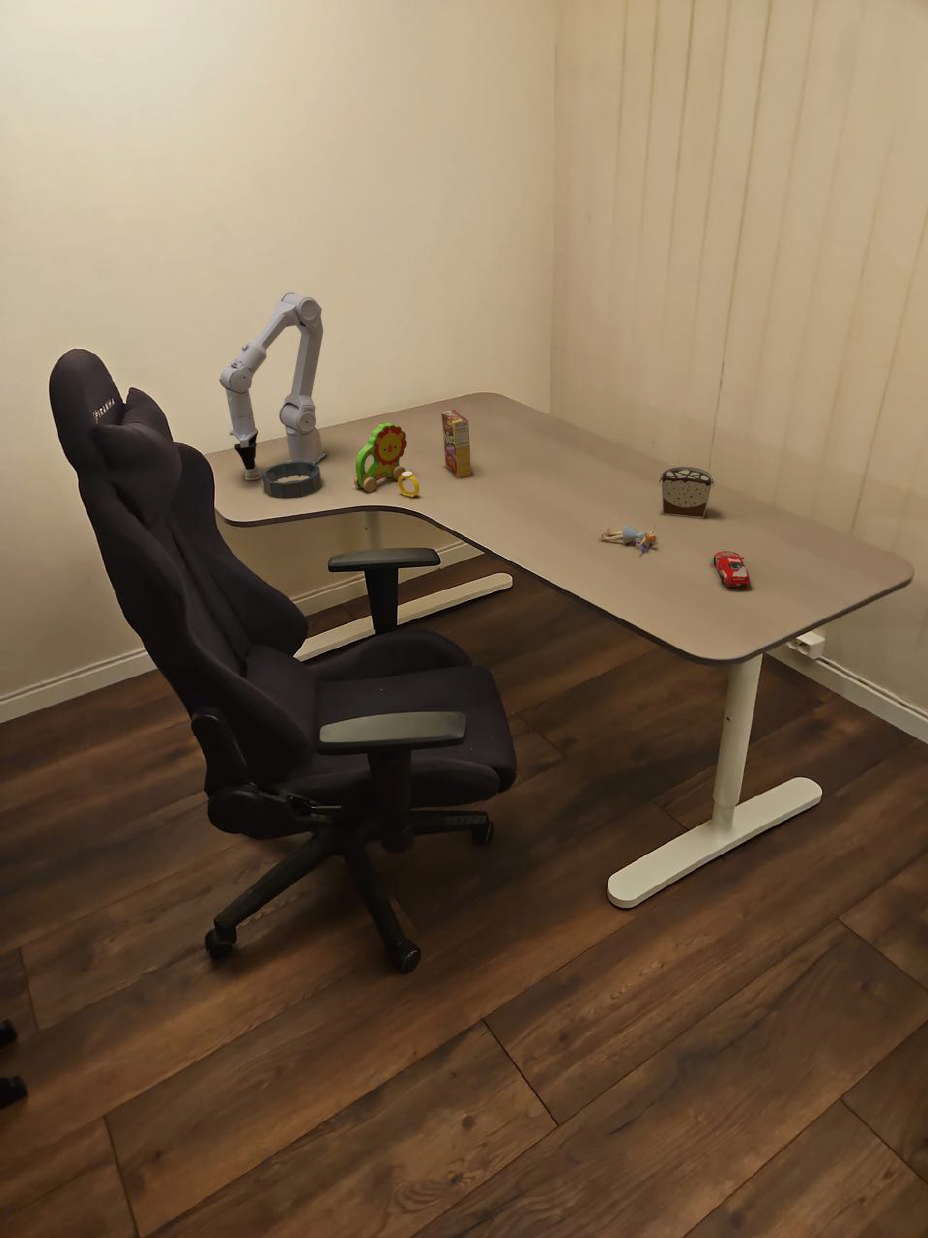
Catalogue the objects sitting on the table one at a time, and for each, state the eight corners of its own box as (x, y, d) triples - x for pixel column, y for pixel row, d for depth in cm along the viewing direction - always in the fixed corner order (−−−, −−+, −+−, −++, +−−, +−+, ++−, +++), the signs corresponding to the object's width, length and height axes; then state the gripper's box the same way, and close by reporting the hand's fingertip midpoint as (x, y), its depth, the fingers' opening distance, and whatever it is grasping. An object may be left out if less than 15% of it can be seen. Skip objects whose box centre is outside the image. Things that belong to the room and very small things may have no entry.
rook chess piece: (257, 481, 235) (252, 453, 230) (242, 480, 235) (236, 452, 231) (264, 475, 238) (259, 446, 234) (248, 474, 239) (243, 446, 235)
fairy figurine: (614, 513, 201) (665, 518, 195) (615, 532, 204) (665, 537, 197) (593, 533, 193) (645, 539, 187) (594, 553, 195) (645, 559, 189)
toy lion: (367, 494, 225) (360, 437, 216) (353, 488, 228) (347, 432, 220) (413, 475, 234) (409, 420, 226) (400, 470, 237) (395, 415, 229)
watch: (422, 496, 222) (420, 474, 219) (415, 500, 220) (413, 478, 217) (404, 491, 225) (402, 469, 222) (396, 495, 224) (394, 473, 220)
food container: (713, 508, 210) (717, 468, 204) (710, 519, 205) (715, 478, 199) (660, 502, 213) (663, 463, 208) (656, 513, 208) (659, 473, 203)
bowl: (283, 472, 239) (281, 458, 237) (331, 478, 234) (329, 464, 232) (254, 494, 228) (251, 479, 226) (303, 500, 223) (301, 486, 221)
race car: (711, 559, 188) (713, 543, 186) (737, 559, 188) (739, 542, 186) (723, 590, 177) (725, 573, 175) (750, 590, 177) (753, 573, 175)
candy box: (443, 466, 238) (440, 411, 230) (458, 463, 239) (456, 409, 231) (456, 478, 231) (453, 422, 223) (471, 475, 232) (469, 419, 224)
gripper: (228, 406, 233) (237, 454, 240) (223, 424, 221) (234, 475, 228) (255, 403, 234) (263, 452, 241) (252, 422, 222) (261, 472, 229)
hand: (251, 463), depth 235 cm, fingers open, 7 cm apart
